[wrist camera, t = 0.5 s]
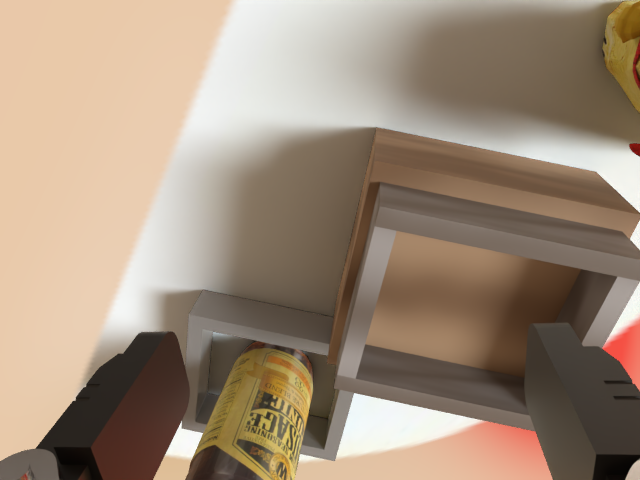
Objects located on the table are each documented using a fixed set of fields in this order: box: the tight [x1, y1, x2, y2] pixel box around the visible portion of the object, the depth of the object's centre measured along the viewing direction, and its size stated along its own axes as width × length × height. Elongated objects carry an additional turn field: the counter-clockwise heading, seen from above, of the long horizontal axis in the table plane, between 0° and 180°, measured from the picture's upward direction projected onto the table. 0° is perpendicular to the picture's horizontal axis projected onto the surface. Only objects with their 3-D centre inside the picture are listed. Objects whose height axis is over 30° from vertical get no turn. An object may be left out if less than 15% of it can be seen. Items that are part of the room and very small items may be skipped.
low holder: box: [182, 290, 354, 461], centre depth 38 cm, size 11×12×3 cm
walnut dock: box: [327, 127, 640, 431], centre depth 29 cm, size 13×13×9 cm
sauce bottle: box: [185, 341, 313, 480], centre depth 30 cm, size 7×6×20 cm
